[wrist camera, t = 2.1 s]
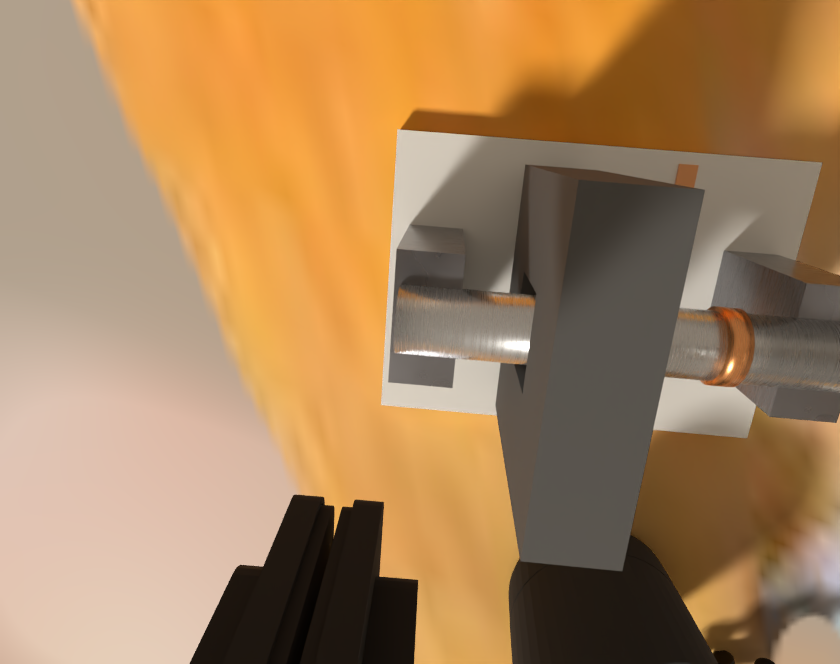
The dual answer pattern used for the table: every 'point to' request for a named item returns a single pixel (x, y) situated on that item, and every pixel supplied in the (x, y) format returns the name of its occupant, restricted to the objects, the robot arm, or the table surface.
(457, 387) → the base board
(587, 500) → the collar
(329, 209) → the table surface
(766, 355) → the pipe
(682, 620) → the pen holder
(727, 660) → the valve
